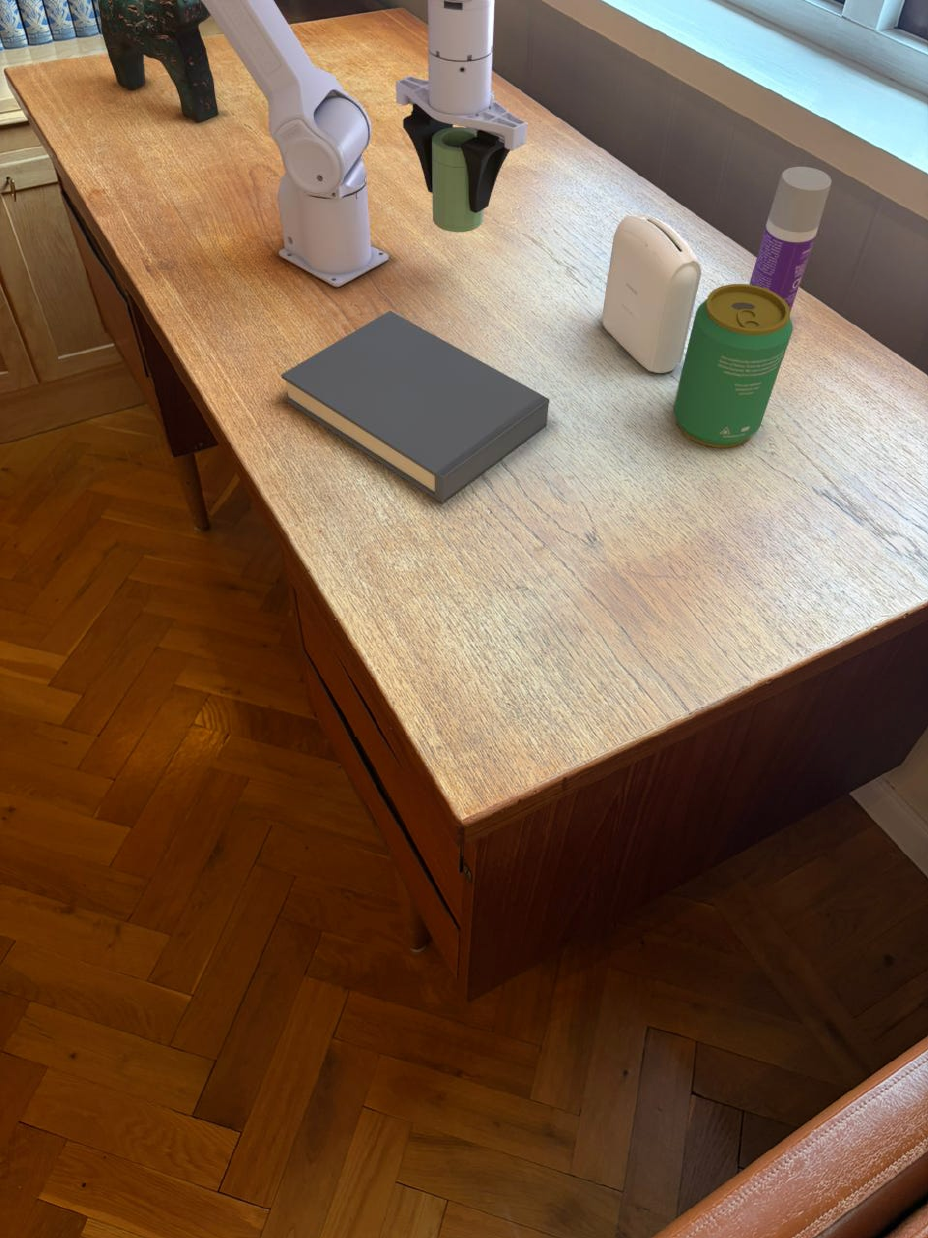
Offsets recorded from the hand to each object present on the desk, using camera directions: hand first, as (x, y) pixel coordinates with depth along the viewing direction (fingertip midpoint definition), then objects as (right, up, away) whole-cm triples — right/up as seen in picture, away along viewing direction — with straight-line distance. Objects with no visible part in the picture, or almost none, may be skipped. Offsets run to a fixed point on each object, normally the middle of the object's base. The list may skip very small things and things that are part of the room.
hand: (458, 198), depth 93 cm
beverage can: (+24, -24, -7) cm, 34 cm away
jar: (0, -1, +2) cm, 2 cm away
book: (-4, -23, -7) cm, 24 cm away
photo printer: (+18, -15, 0) cm, 23 cm away
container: (+31, -12, +3) cm, 34 cm away
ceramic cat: (-40, +28, +33) cm, 59 cm away
